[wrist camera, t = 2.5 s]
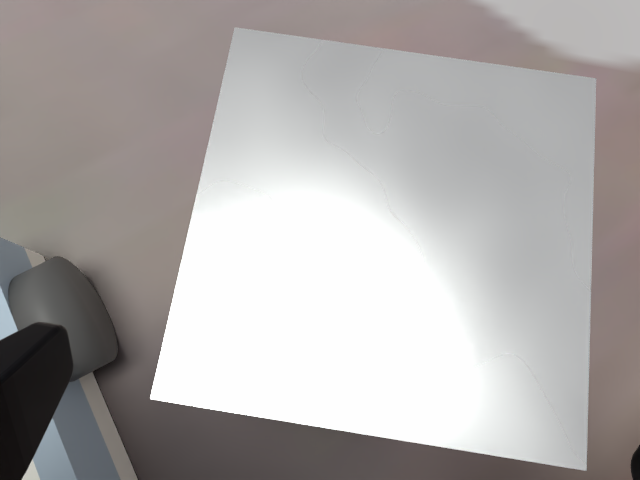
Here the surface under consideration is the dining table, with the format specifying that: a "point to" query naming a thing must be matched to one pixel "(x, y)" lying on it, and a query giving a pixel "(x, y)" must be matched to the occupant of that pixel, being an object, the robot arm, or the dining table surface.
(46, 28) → the dining table surface
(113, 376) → the dining table surface
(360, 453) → the dining table surface
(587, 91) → the block
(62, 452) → the chassis
